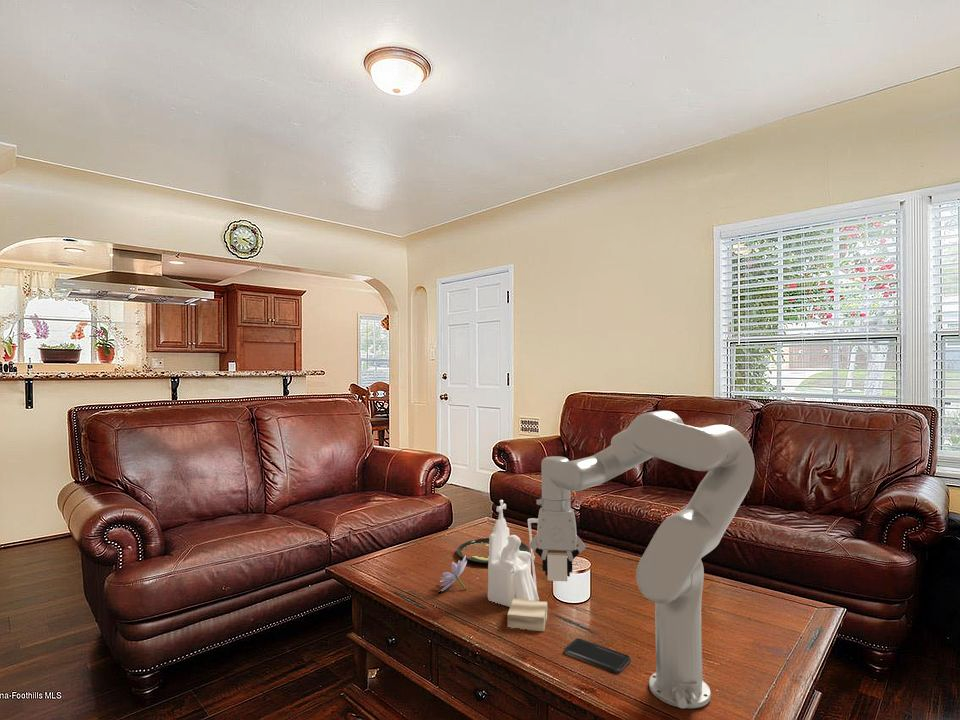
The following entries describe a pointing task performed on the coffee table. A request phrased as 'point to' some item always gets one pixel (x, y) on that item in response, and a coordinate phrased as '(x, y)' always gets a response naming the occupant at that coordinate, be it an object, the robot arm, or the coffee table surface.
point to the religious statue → (509, 565)
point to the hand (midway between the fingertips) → (557, 573)
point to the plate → (486, 540)
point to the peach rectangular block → (557, 565)
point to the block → (527, 614)
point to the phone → (597, 655)
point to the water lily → (453, 577)
